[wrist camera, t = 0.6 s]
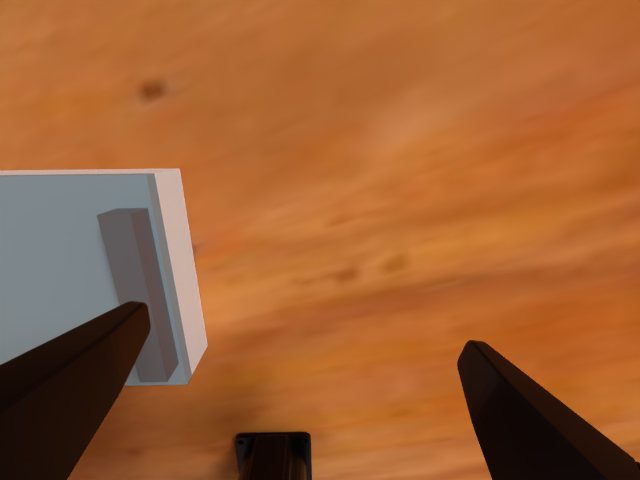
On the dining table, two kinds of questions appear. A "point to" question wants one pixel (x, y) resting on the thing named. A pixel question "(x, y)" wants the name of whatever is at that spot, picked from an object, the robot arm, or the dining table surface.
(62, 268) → the sliding cover
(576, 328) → the dining table surface
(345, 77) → the dining table surface
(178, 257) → the white sliding-lid box
